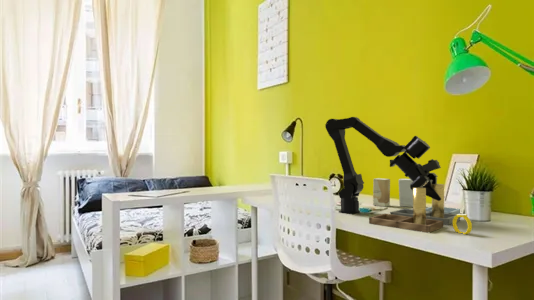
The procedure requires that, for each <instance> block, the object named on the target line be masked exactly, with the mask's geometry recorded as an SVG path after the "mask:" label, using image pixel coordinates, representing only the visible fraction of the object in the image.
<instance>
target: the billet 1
mask: <svg viewBox="0 0 534 300" xmlns="http://www.w3.org/2000/svg"><path fill="white" fill-rule="evenodd" d="M426 208H427V196H426V188H420V187H415V188H413V207H412V209H413V223H415V224H422V225H426Z"/></svg>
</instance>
